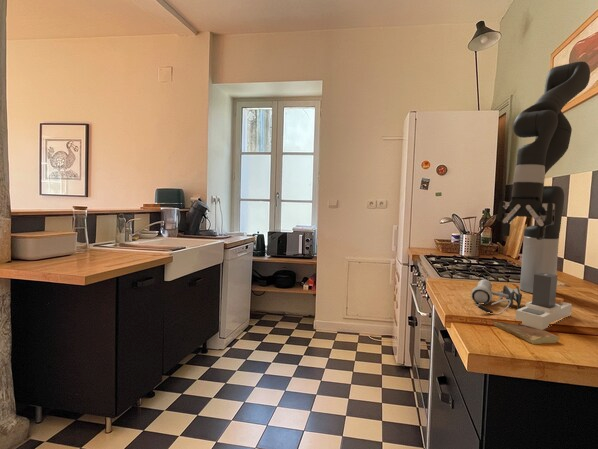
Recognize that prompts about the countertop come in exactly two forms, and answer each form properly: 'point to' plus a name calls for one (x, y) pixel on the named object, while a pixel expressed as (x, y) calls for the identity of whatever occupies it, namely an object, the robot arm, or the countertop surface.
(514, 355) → the countertop surface
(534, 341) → the shard
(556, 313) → the power strip
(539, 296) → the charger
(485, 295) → the clip-on lamp
